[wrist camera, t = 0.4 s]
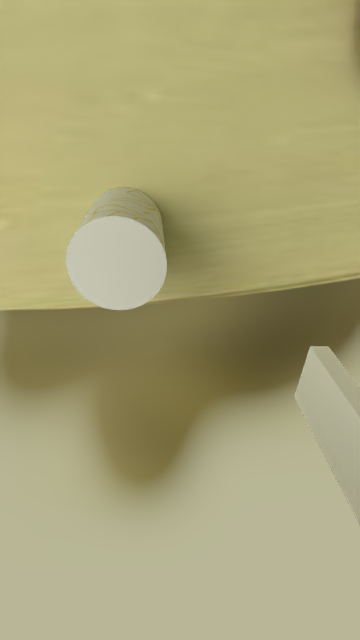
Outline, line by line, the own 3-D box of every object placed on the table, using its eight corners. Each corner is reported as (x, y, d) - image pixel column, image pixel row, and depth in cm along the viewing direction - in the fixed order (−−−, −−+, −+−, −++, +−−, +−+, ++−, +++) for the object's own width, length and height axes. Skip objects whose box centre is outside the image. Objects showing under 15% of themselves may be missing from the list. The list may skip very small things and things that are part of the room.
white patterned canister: (176, 217, 38) (186, 255, 28) (136, 272, 41) (132, 325, 31) (113, 170, 35) (98, 193, 25) (75, 234, 38) (47, 277, 28)
